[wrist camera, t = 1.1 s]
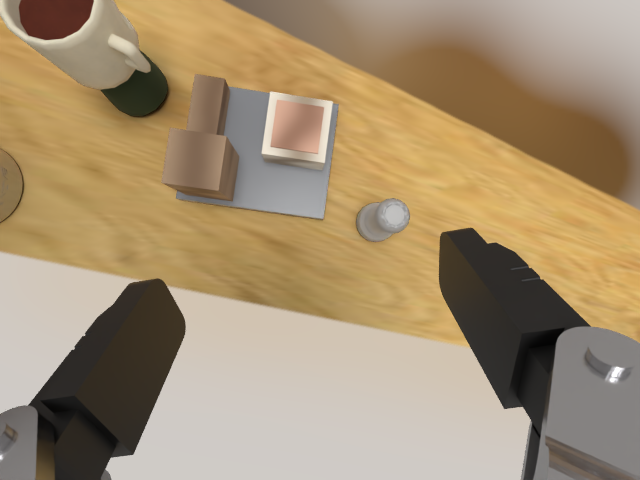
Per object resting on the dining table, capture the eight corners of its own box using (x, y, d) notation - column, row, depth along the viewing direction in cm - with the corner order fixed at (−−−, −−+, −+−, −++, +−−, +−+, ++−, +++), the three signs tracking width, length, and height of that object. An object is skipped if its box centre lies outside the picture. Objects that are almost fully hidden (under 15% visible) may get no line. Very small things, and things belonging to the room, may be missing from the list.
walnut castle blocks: (186, 195, 34) (161, 182, 28) (202, 86, 34) (181, 51, 28) (232, 201, 34) (218, 190, 28) (248, 94, 34) (237, 61, 28)
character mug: (200, 85, 35) (142, -11, 22) (171, 140, 35) (96, 75, 22) (111, 41, 35) (-1, -83, 22) (80, 97, 35) (-52, 4, 22)
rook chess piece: (399, 234, 36) (427, 229, 28) (363, 247, 36) (381, 246, 28) (386, 198, 36) (410, 183, 28) (350, 210, 36) (364, 199, 28)
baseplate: (180, 200, 35) (175, 198, 34) (197, 86, 35) (193, 80, 34) (322, 219, 36) (323, 218, 34) (337, 109, 36) (338, 104, 35)
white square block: (264, 162, 34) (261, 152, 31) (272, 105, 35) (270, 90, 31) (322, 170, 35) (324, 162, 31) (330, 114, 35) (333, 100, 32)
